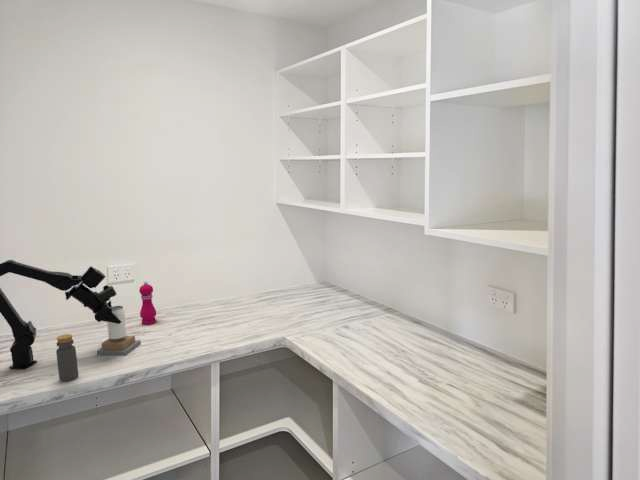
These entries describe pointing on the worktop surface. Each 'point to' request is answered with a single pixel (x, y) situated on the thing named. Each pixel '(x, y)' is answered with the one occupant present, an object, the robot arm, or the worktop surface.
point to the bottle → (66, 358)
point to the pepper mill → (147, 304)
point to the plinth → (119, 352)
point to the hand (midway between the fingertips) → (120, 320)
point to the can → (117, 329)
